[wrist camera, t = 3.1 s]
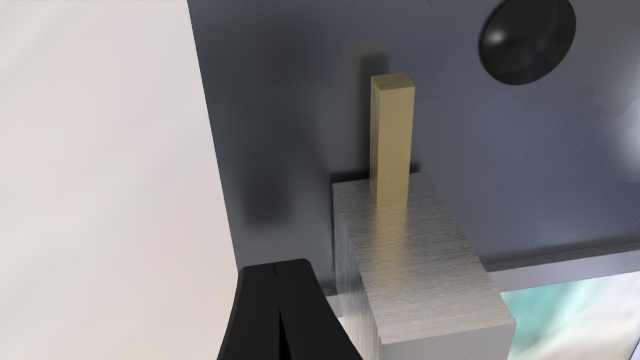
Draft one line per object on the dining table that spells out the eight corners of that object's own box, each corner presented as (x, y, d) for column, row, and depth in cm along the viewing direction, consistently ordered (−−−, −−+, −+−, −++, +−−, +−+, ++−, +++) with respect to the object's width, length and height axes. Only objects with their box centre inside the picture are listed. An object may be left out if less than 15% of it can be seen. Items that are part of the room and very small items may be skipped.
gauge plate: (961, -92, 11) (1442, -38, 7) (781, 208, 15) (994, 354, 11) (188, -30, 9) (160, 95, 5) (245, 286, 14) (255, 492, 9)
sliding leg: (436, 62, 9) (553, 189, 6) (417, 274, 12) (487, 433, 9) (328, 72, 9) (388, 210, 6) (335, 286, 12) (377, 453, 9)
